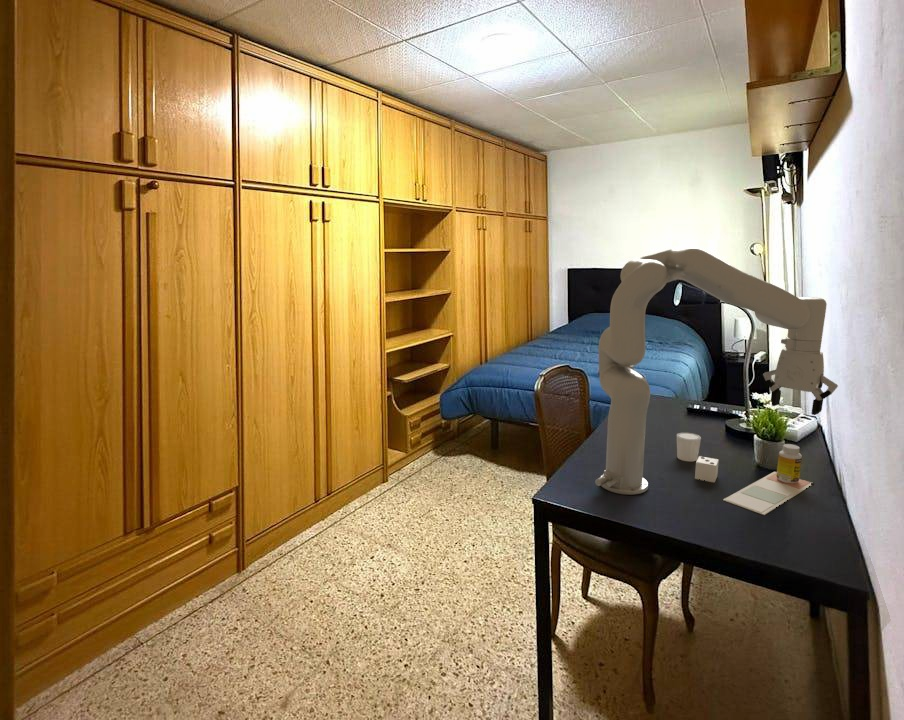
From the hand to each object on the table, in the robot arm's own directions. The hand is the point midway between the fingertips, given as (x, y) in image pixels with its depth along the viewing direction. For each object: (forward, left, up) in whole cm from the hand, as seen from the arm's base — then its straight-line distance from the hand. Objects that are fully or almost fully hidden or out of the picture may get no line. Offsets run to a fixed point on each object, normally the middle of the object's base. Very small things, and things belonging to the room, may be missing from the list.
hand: (794, 409), depth 144 cm
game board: (-10, 0, -20) cm, 23 cm away
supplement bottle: (0, 0, -20) cm, 20 cm away
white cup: (-5, +26, -21) cm, 33 cm away
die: (-14, +15, -20) cm, 29 cm away
